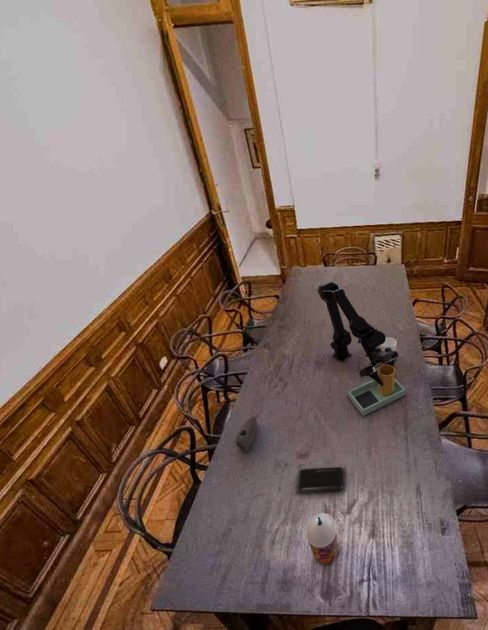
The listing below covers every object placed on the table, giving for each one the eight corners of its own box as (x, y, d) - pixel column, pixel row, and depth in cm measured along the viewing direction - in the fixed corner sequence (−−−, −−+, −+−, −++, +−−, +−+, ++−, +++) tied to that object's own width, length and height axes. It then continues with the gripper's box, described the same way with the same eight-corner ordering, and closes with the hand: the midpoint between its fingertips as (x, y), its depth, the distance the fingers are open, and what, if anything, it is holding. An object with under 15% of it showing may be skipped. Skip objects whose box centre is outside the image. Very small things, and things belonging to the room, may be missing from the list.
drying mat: (363, 410, 141) (363, 410, 141) (354, 398, 147) (353, 397, 147) (379, 402, 144) (379, 402, 144) (369, 390, 150) (369, 390, 150)
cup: (375, 391, 149) (375, 371, 142) (384, 382, 153) (384, 362, 147) (388, 398, 146) (388, 378, 139) (397, 389, 150) (398, 368, 143)
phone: (342, 489, 113) (297, 490, 113) (342, 490, 114) (298, 492, 114) (342, 466, 120) (300, 468, 120) (343, 468, 120) (300, 470, 120)
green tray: (363, 416, 139) (362, 410, 137) (348, 397, 148) (347, 391, 146) (405, 395, 148) (405, 389, 146) (388, 378, 157) (388, 372, 155)
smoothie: (323, 530, 104) (316, 495, 93) (345, 547, 100) (341, 513, 88) (305, 556, 98) (295, 522, 87) (328, 576, 94) (321, 543, 83)
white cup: (395, 364, 164) (395, 348, 159) (378, 362, 166) (378, 346, 160) (396, 353, 170) (397, 338, 165) (381, 352, 172) (381, 336, 166)
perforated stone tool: (250, 422, 139) (247, 410, 135) (263, 423, 138) (259, 412, 134) (235, 455, 126) (230, 443, 123) (248, 456, 126) (244, 445, 122)
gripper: (363, 355, 134) (382, 390, 133) (396, 335, 144) (414, 368, 143) (351, 360, 144) (369, 393, 143) (383, 341, 153) (400, 372, 152)
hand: (388, 381), depth 145 cm, fingers closed on cup, 7 cm apart
